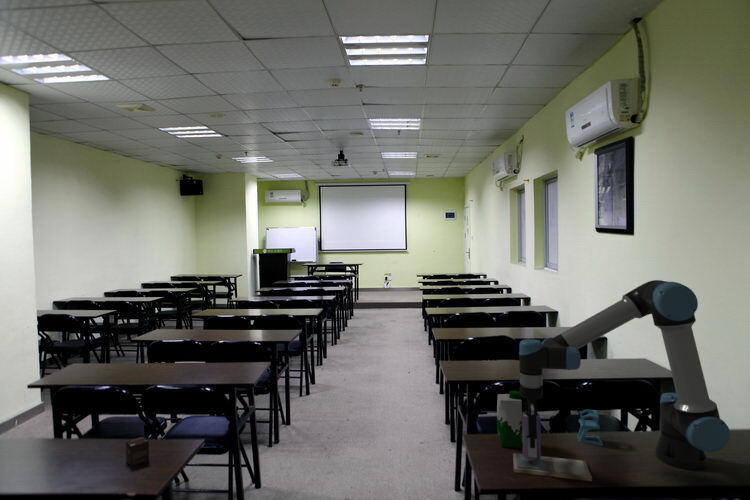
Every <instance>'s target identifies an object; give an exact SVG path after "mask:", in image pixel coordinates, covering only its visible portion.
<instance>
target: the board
mask: <svg viewBox="0 0 750 500" xmlns="http://www.w3.org/2000/svg"><path fill="white" fill-rule="evenodd" d="M512 459H513V460H512V461H513V462H512V463H513V472H514V473H518V474H527V475H533V476H534V475H536V476H543V477H552V478H553V477H554V478H559V479H560V478H562V479H571V480H577V481H578V480H580V481H588V482H593V476H592V474H591V471H590V470H589V467H588V465H587V461H586V460H580V459H572V458H560V457H553V456H542V455H541V458H540V459H539V460H538V461H530V460H527V459H525V458H524V456H523V453H516V452H515V453H514V452H513V453H512Z"/></svg>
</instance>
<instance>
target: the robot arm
mask: <svg viewBox="0 0 750 500" xmlns="http://www.w3.org/2000/svg"><path fill="white" fill-rule="evenodd" d="M698 304H699V301H698V298H697V295H696V293H694V291H693V290H692V289H691V288H690V287H688V286H686V285H685V284H682V283H681V282H676V281H668V280H667V281H666V280H665V281H664V280H662V279H661V280H660V279H653V280H650V281H647V282H644V283H642V284H641V285H639V286H637V287H635V288H634V289H632V290H629V291H628V292H627V293H625V294H623V295H622V297H621V299H620V300H619V301H617V302H615V303H613V304H611V305H610V306H608V307H606V308H604V309H602V310H601V311H599V312H597V313H595V314H594V315H591V316H590V317H588V318H587V319H585V320H583V321H581V322H579V323H577V324H576V325H574V326H572V327H570V328H569V329H567V330H565V331H563V332H562V333H560V334H557V335H556V336H554V337H546V338H545V339H544V340H542V341H541V340H538V339H532V338H529V339H528V338H527V339H523V340H521V341H520V342H519V349H518V350H519V352H518V358H519V359H518V360H519V363H518V364H519V374H518V375H517V378H518V379H519V383H520V385H519V392H520V397H521V398H523V399H525V400H524V406H525V412H526V415H527V416H528V433H529V435H528V436H526V438H528V457H537V420H536V417H537V413H538V408H539V407H538V401H537V400H541V399H542V398H543V396H544V392H543V390H544V389H543V385H544V383H543V382H544V381H543V380H544V379H543V374H544V373H543V369H544V370H564V371H565V370H566V371H572V370H573V371H574V370H575V371H576V370H579V368H580V367H581V353H580V350H579V349H580V348H582V347H584V346H587V345H588V344H590V343H592V342H594V341H596V340H597V339H599V338H601V337H603V336H605V335H606V334H608V333H611V332H612V331H614V330H615V329H618V328H619V327H621V326H623V325H625V324H627V323H629V322H630V321H632V320H634V319H642V318H644V317H647V316H649V315H651V316H652V317H651V318H652V320H653V324H654V326H655V327H656V328H658V329H659V330H660V332H661V335H662V339H663V344H664V349H665V352H666V356H667V359H668V363H669V368H670V372H671V377H672V380H673V381H672V382H673V384H674V389H675V392H664V393H662V394H661V395H660V400H659V401H660V402H659V404H660V435H659V438H658V440H657V444H656V446H655V449H654V450H655V453H654V454H655V457H656V458H657V459H658V460H660V461H661V462H663V463H664V464H668V465H670V466H673V467H677V468H680V467H681V468H680V469H685V468H688V469H687V470H702V469H701V468H703V469H705V468H706V467H707V466H708V459H707V458H708V457H707V454H706V453H708V452H709V453H713V452H718V451H720V450H722V449H724V448H725V446H726V445H728V443H729V441H730V440H731V439H730V438H731V430H730V428H729V426H728V425H727V423H726V421H724V420H723V419H721V417H720V412H719V408H718V405H717V403H716V402H715V401H713V400H712V399H711V398H710V396H709V391H708V388H707V384H706V381H705V376H704V372H703V368H702V364H701V360H700V355H699V351H698V348H697V343H696V339H695V336H694V331H693V325H695V323H696V316H695V313H696V311H697V310H698ZM528 413H529V414H528ZM704 467H705V468H704Z"/></svg>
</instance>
